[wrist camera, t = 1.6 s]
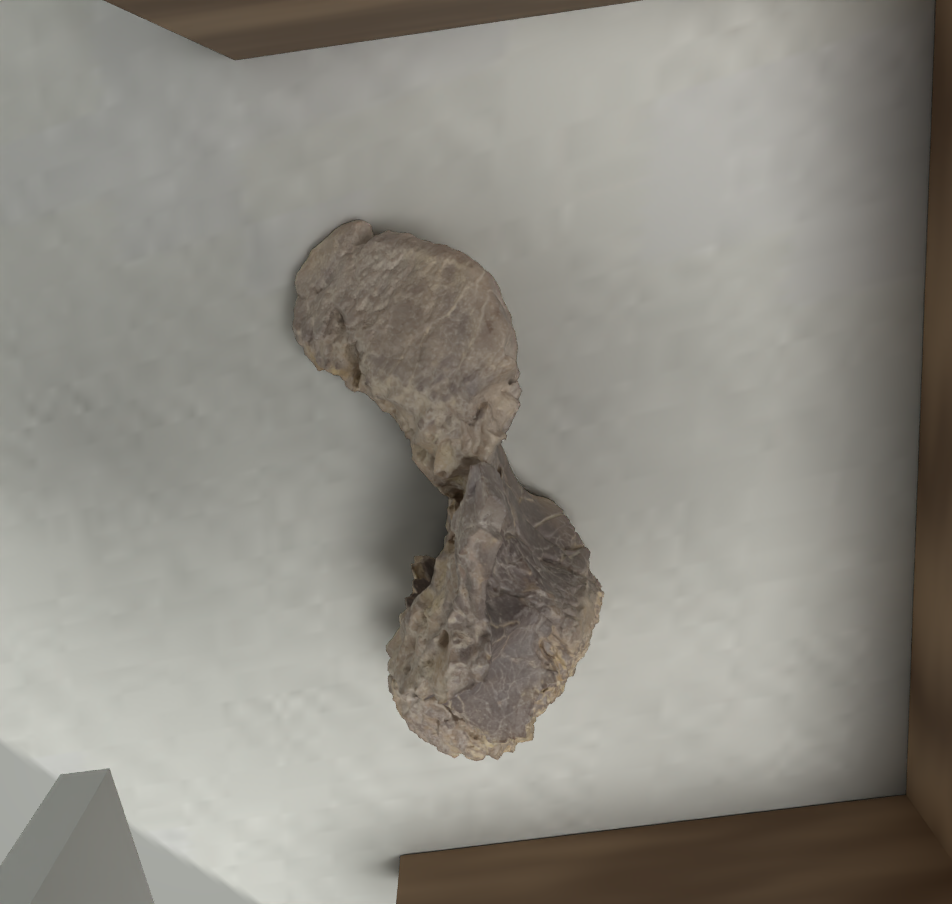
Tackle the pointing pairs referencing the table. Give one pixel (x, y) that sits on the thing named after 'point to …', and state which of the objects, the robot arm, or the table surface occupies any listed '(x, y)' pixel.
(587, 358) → the table surface
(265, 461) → the table surface
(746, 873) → the walnut cubby
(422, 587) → the rock
